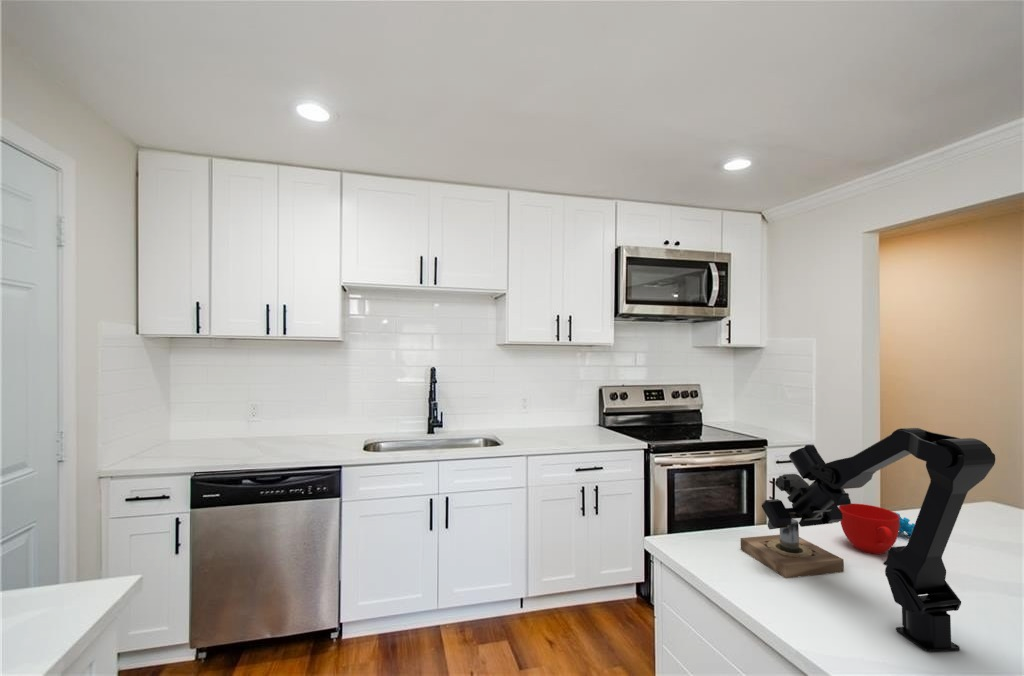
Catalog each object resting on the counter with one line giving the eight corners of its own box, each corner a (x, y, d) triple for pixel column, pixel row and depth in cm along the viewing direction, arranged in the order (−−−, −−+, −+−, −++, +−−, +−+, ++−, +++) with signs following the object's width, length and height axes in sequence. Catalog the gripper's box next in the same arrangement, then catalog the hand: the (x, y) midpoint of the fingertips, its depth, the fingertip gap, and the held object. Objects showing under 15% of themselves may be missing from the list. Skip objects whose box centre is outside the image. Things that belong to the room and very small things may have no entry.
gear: (931, 536, 128) (904, 511, 128) (920, 553, 127) (893, 527, 127) (893, 526, 139) (869, 503, 139) (883, 542, 138) (858, 519, 138)
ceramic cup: (860, 563, 116) (859, 523, 116) (831, 537, 132) (830, 501, 132) (921, 569, 113) (920, 527, 113) (883, 541, 129) (882, 505, 129)
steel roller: (800, 565, 115) (799, 524, 115) (780, 561, 117) (780, 522, 117) (798, 558, 119) (797, 519, 119) (779, 555, 121) (778, 516, 121)
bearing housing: (843, 571, 112) (843, 559, 112) (785, 578, 109) (785, 565, 109) (792, 544, 127) (792, 533, 127) (740, 549, 125) (740, 538, 125)
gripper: (831, 464, 116) (798, 495, 127) (765, 468, 113) (737, 499, 124) (861, 506, 108) (823, 535, 119) (791, 511, 105) (758, 540, 116)
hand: (784, 526), depth 120 cm, fingers open, 9 cm apart
